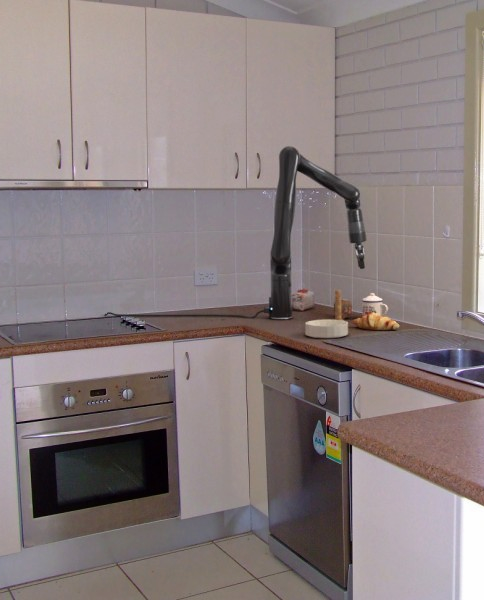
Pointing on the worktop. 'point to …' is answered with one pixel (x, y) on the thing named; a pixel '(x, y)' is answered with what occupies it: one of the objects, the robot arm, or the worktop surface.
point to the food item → (303, 300)
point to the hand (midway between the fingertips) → (361, 267)
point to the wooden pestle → (338, 305)
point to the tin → (345, 309)
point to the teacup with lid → (373, 305)
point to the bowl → (326, 328)
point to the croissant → (375, 322)
